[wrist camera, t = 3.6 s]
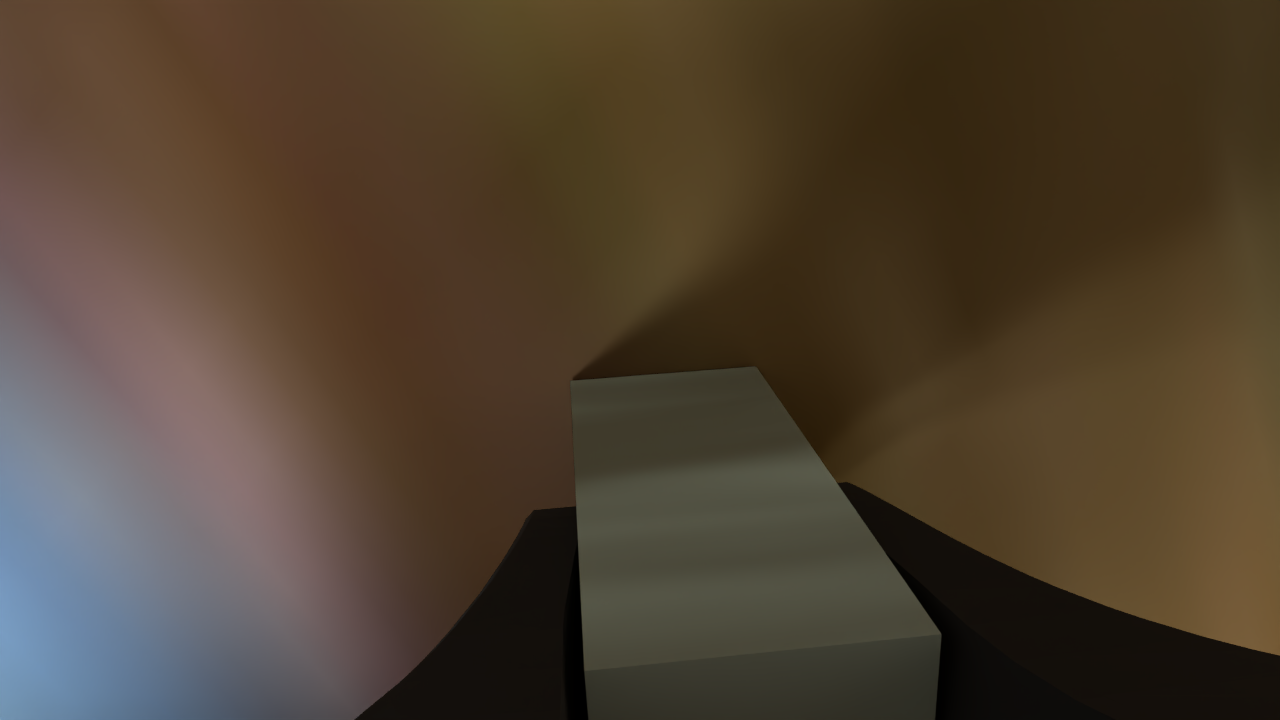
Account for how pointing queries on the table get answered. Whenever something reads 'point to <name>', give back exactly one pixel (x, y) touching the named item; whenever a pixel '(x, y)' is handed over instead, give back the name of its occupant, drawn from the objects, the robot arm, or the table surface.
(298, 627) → the table surface
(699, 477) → the gray rectangular block
